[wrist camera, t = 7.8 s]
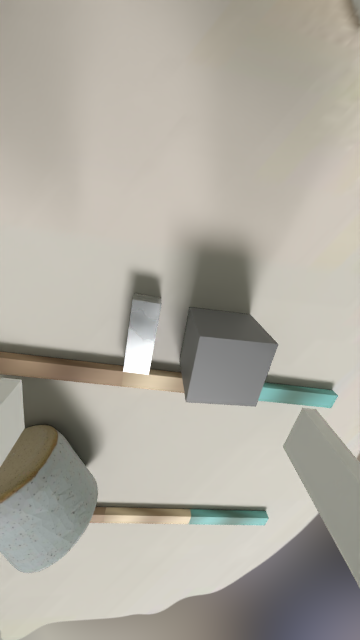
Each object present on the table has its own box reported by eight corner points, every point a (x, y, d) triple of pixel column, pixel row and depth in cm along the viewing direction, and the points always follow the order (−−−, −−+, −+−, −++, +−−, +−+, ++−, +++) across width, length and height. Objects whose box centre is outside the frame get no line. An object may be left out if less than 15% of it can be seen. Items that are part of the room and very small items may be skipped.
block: (185, 402, 16) (255, 406, 17) (199, 336, 14) (278, 344, 15) (179, 360, 21) (234, 365, 21) (189, 306, 19) (249, 313, 19)
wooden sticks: (12, 513, 27) (8, 521, 26) (-6, 350, 19) (-12, 356, 18) (262, 517, 31) (264, 525, 30) (332, 390, 23) (338, 395, 23)
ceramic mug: (67, 407, 21) (21, 501, 14) (107, 464, 25) (85, 562, 18) (-38, 440, 22) (-130, 544, 15) (14, 491, 25) (-42, 596, 18)
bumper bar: (125, 361, 20) (123, 371, 19) (134, 293, 18) (132, 299, 16) (149, 363, 20) (148, 374, 19) (161, 297, 18) (161, 304, 17)
